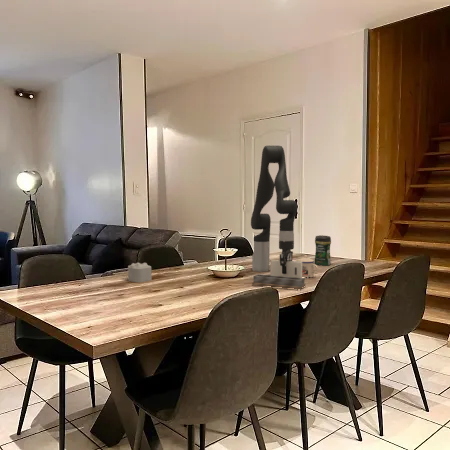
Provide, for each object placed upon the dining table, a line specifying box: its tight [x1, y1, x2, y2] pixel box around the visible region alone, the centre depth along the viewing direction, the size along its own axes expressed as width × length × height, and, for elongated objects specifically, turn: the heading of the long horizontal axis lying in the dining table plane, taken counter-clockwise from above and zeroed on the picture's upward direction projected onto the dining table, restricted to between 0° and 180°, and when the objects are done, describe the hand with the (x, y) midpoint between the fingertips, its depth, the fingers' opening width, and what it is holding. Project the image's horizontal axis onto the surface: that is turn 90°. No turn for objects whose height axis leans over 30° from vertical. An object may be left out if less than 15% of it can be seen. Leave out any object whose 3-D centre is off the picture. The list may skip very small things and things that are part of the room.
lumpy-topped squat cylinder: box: [127, 262, 152, 283], centre depth 235 cm, size 10×13×9 cm
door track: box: [251, 273, 306, 289], centre depth 218 cm, size 24×9×4 cm, turn 63°
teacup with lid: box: [297, 254, 319, 278], centre depth 240 cm, size 12×9×12 cm
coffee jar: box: [314, 234, 332, 267], centre depth 280 cm, size 10×8×19 cm
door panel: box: [270, 259, 302, 278], centre depth 227 cm, size 16×3×11 cm, turn 63°
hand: (286, 272), depth 227 cm, fingers open, 5 cm apart
